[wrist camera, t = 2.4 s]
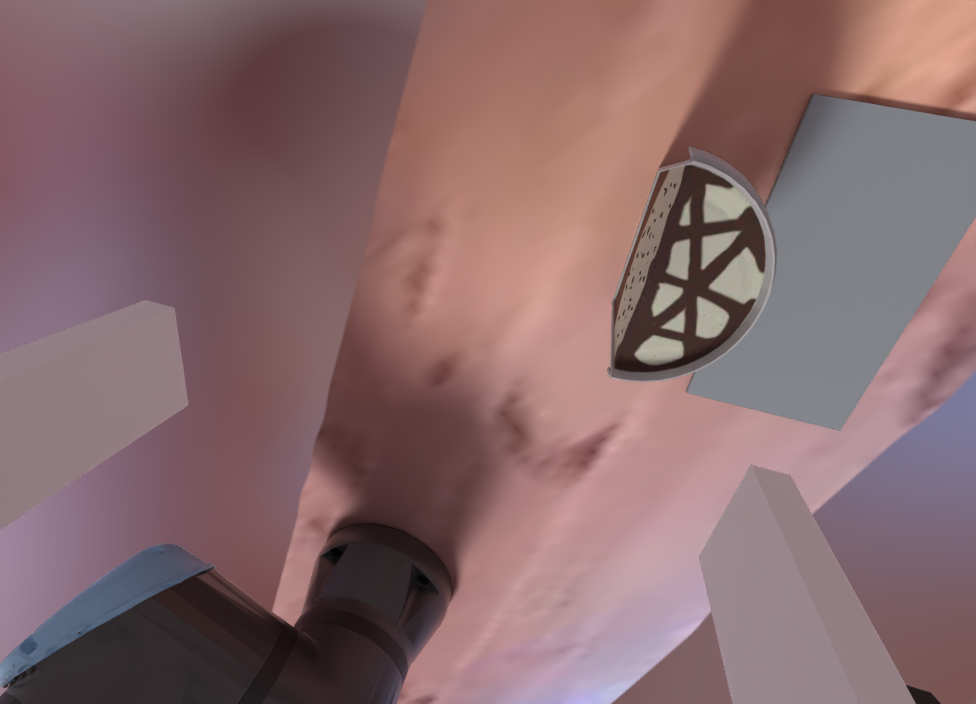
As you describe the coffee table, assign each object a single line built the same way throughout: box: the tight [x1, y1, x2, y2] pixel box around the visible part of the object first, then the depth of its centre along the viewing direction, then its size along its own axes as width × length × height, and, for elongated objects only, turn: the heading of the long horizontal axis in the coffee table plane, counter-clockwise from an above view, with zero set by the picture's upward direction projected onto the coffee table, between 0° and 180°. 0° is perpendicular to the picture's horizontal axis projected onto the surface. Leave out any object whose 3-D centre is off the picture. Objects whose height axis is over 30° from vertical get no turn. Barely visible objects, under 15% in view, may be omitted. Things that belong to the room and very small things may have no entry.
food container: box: [607, 146, 777, 382], centre depth 27 cm, size 12×6×10 cm, turn 169°
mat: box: [686, 94, 976, 431], centre depth 30 cm, size 11×20×1 cm, turn 171°
